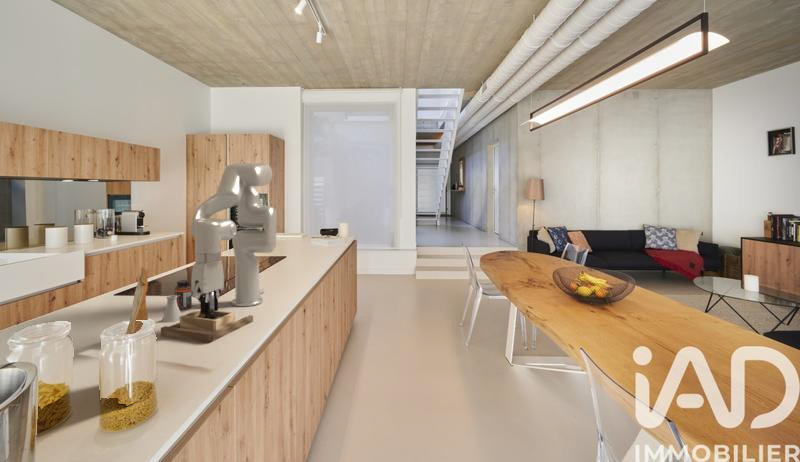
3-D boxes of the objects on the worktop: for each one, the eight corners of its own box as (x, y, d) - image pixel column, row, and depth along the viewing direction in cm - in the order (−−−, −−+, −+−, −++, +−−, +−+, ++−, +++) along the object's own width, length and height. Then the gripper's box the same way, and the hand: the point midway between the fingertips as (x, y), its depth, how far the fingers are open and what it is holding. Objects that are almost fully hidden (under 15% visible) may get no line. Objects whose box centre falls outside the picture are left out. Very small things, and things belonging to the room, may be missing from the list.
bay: (210, 320, 136) (210, 309, 136) (253, 325, 132) (253, 314, 132) (161, 340, 116) (160, 327, 116) (209, 347, 112) (209, 334, 111)
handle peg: (209, 323, 126) (208, 285, 125) (216, 324, 125) (216, 286, 124) (202, 325, 123) (201, 287, 122) (210, 326, 122) (209, 288, 121)
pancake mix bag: (159, 369, 97) (156, 265, 95) (149, 406, 80) (145, 280, 78) (128, 374, 94) (124, 266, 92) (110, 413, 77) (105, 282, 75)
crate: (200, 322, 129) (200, 308, 129) (235, 326, 126) (235, 312, 125) (179, 331, 121) (179, 316, 120) (216, 336, 117) (215, 320, 117)
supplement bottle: (171, 309, 149) (170, 281, 148) (185, 305, 154) (184, 278, 153) (181, 311, 146) (181, 283, 145) (195, 307, 152) (194, 280, 151)
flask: (173, 327, 128) (172, 299, 127) (155, 325, 129) (154, 298, 128) (189, 321, 135) (188, 294, 134) (172, 319, 136) (171, 293, 136)
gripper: (216, 253, 131) (217, 304, 132) (178, 260, 115) (180, 318, 117) (234, 255, 129) (235, 306, 130) (198, 262, 113) (200, 320, 115)
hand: (209, 311), depth 123 cm, fingers closed on handle peg, 3 cm apart
